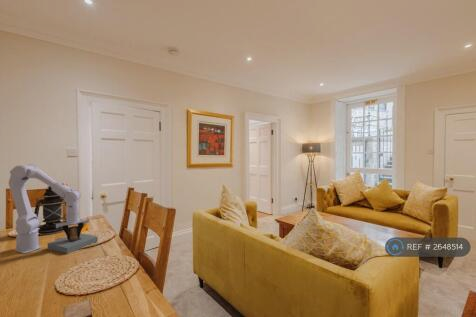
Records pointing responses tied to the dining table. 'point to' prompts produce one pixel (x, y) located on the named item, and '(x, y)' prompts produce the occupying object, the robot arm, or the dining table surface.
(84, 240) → the hole block
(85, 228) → the pipe clamp
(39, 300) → the dining table surface
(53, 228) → the lantern
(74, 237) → the peg
